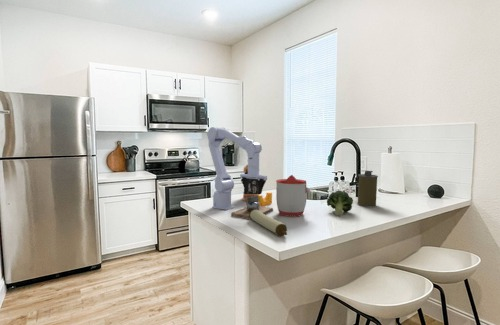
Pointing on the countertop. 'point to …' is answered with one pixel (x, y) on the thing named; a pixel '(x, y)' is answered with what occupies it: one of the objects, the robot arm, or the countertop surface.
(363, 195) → the canister
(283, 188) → the citrus juicer
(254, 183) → the whiskey bottle
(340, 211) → the vegetable
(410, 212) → the countertop surface
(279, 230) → the beige long cylinder
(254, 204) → the twist cap
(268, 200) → the pipe clamp
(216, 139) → the robot arm
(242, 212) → the base plate
